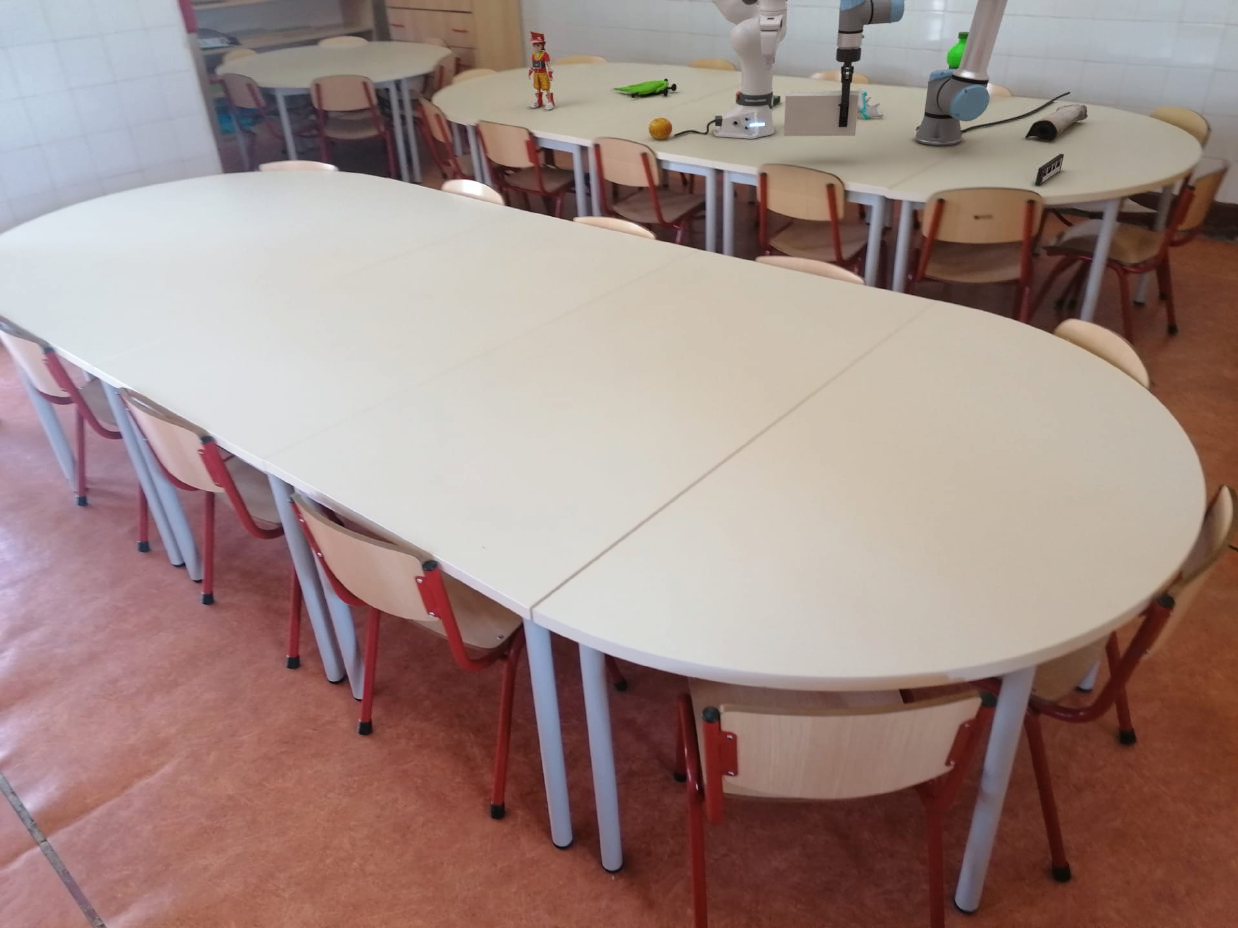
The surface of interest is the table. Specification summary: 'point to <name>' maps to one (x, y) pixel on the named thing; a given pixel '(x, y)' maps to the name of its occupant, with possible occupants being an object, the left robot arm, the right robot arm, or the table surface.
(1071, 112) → the rolled mat
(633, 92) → the toy
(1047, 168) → the midi keyboard
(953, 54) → the plastic bottle
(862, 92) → the anatomical model
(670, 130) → the fruit
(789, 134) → the box
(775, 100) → the disk drive
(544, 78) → the toy
